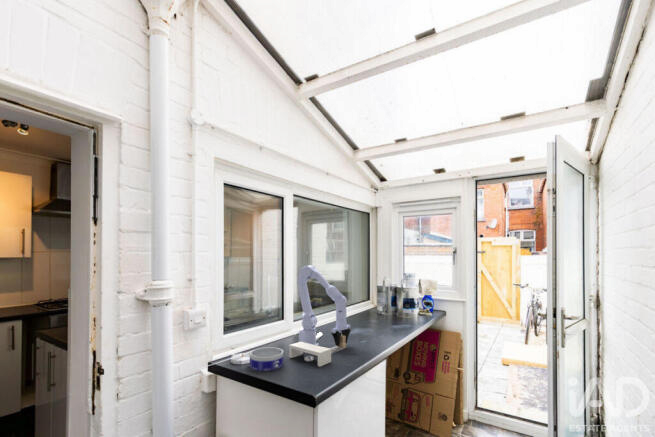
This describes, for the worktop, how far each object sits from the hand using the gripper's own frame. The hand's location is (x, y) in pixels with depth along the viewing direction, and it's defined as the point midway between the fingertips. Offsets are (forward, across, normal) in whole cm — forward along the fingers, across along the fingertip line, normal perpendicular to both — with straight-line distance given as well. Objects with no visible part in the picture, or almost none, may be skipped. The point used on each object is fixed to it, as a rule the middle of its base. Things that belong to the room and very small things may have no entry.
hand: (341, 344), depth 175 cm
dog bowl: (+2, -44, +10) cm, 45 cm away
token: (+2, -26, 0) cm, 26 cm away
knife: (+3, +12, +28) cm, 31 cm away
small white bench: (+2, -26, 0) cm, 26 cm away
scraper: (+2, -9, 0) cm, 9 cm away
